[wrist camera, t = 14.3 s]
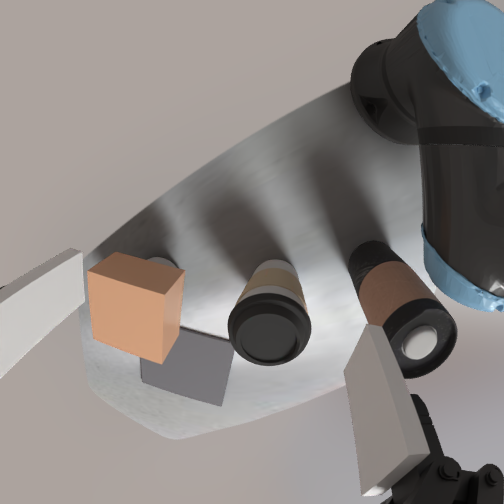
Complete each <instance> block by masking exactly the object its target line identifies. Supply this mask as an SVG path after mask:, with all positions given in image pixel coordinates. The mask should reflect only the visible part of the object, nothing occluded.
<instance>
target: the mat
mask: <svg viewBox="0 0 504 504" xmlns="http://www.w3.org/2000/svg"><path fill="white" fill-rule="evenodd" d="M234 350H235V349H234V348H233V346H232V344H231V342H230V341H228V340H225V339H221V338H217V337H213V336H209V335H206V334H202V333H199V332H195V331H191V330H188V329H185V328H181V327H180V328H179V336H178V337H177V339H176V341H175V343H174V344H173V346H172V348H171V349H170V351H169V353H168V355H167V356H166V358H165V360H164V362H163V364H159V363H156V362H153V361H150V360H147V359H144V358H141V371H142V382H143V383H146V384H149V385H152V386H155V387H157V388H160V389H163V390H166V391H169V392H172V393H175V394H179V395H182V396H185V397H188V398H192V399H195V400H199V401H202V402H206V403H210V404H213V405H217V406H222V402H223V398H224V393H225V389H226V385H227V381H228V376H229V372H230V368H231V363H232V359H233V355H234Z"/></svg>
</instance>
